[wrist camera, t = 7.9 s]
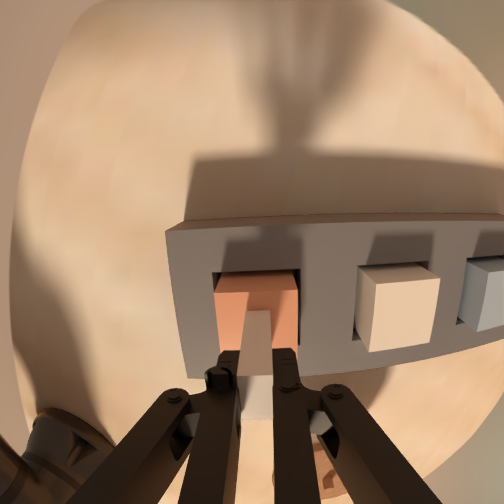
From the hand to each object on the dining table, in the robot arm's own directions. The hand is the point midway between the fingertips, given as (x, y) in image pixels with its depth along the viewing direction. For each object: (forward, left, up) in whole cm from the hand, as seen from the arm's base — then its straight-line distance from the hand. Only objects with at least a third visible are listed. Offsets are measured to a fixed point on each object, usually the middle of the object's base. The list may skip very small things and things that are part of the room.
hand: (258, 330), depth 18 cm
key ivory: (+10, 0, -5) cm, 11 cm away
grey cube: (+20, 0, -5) cm, 21 cm away
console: (+10, 0, -8) cm, 13 cm away
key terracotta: (0, 0, -5) cm, 5 cm away
